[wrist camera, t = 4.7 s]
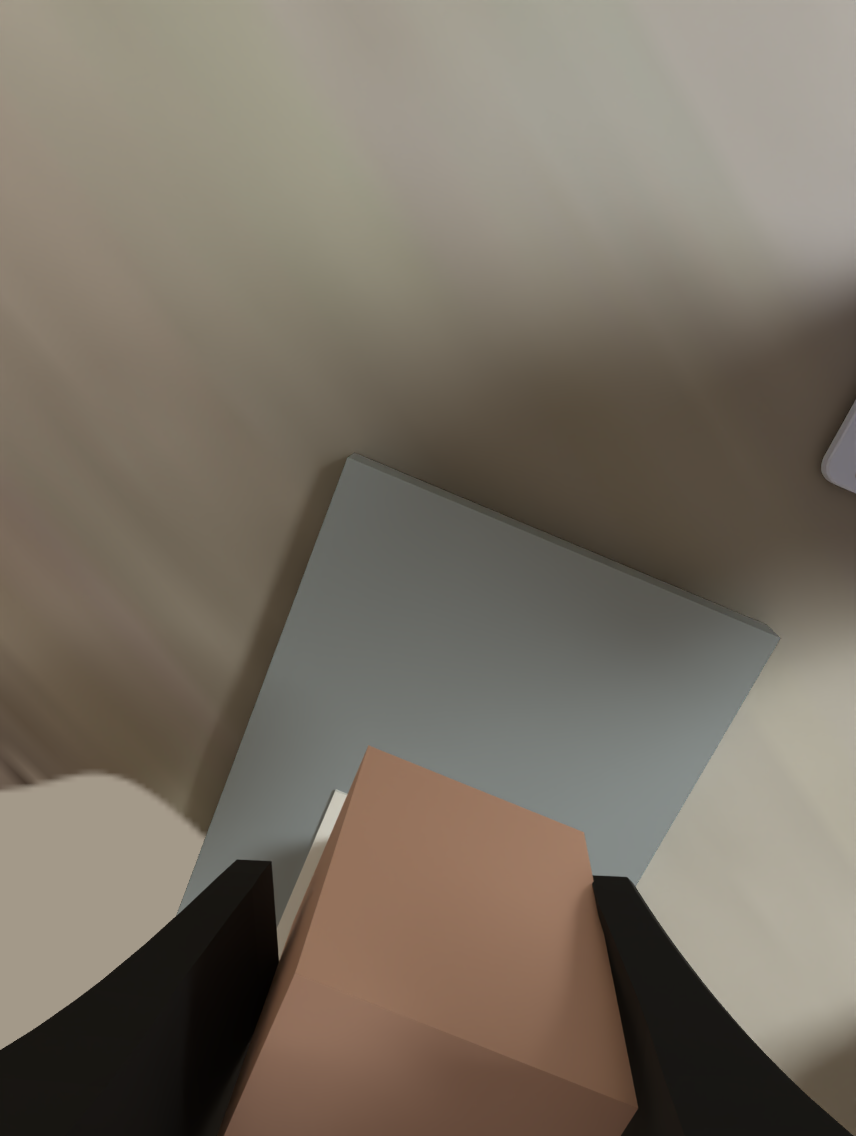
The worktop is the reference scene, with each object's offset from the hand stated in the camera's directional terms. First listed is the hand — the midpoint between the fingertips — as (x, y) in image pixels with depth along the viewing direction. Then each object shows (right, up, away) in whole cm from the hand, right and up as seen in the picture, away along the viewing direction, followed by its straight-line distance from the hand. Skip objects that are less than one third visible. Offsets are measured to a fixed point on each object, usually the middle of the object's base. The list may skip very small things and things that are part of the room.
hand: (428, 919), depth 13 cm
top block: (0, 0, +1) cm, 1 cm away
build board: (0, -1, +10) cm, 10 cm away
